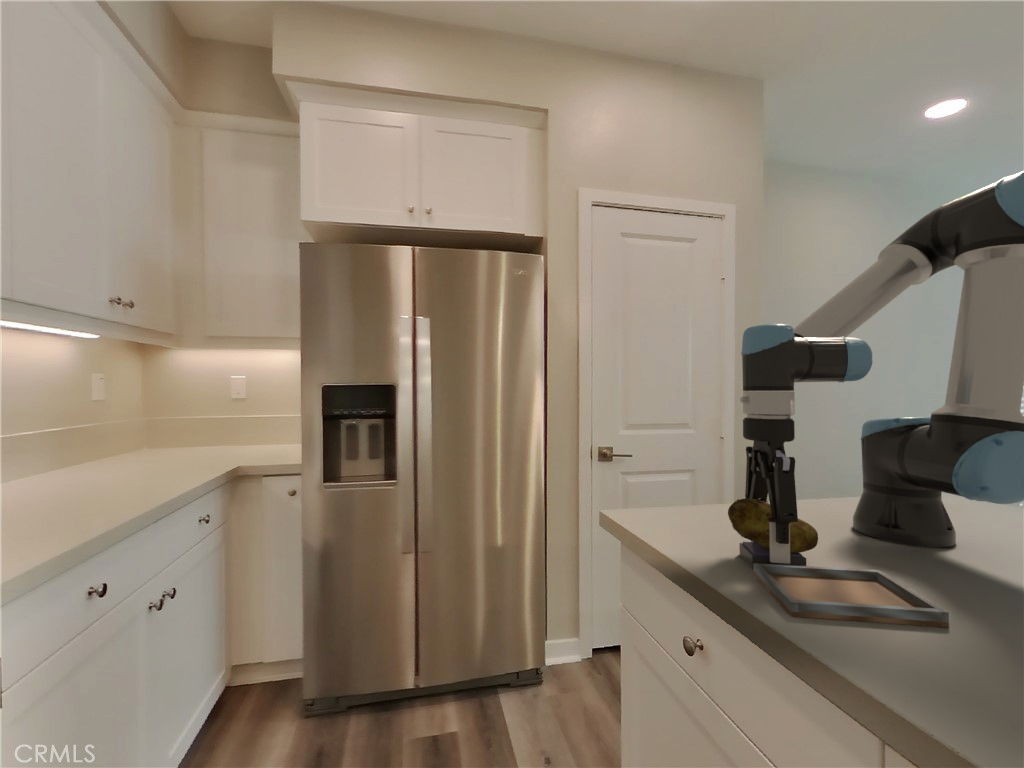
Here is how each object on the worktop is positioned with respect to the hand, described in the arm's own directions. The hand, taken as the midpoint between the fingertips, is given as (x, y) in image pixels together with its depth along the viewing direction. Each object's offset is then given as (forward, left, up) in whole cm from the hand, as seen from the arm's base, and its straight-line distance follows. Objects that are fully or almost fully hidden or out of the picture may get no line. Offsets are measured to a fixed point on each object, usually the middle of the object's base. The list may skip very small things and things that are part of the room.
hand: (769, 552), depth 73 cm
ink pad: (0, 0, -2) cm, 2 cm away
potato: (0, 0, +1) cm, 1 cm away
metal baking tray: (-4, +12, -2) cm, 13 cm away
